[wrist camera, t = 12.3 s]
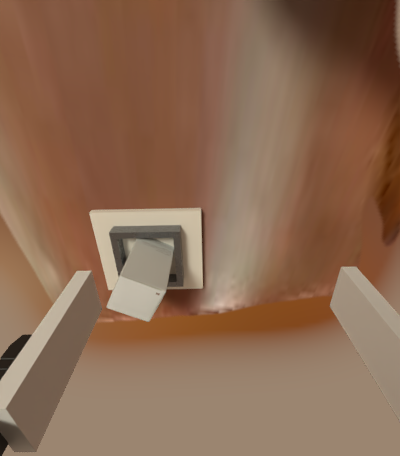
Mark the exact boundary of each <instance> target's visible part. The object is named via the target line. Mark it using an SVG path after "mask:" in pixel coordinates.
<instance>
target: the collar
mask: <svg viewBox="0 0 400 456" xmlns="http://www.w3.org/2000/svg"><path fill="white" fill-rule="evenodd" d="M109 236H110V240H111V245H112V249H113V254H114V258H115V263H116V268H117V272H118V277H119V275H120V273H121V271H122V269H123V267H124V265H125V262H126V256H125V251H124V245H123V240H122V239H128V238H173V241H174V253H175V265H176V274H169V280H168V285H167V287H183V286H184V268H183V253H182V238H181V225H156V226H113V227H112V229H111V230H110V232H109Z"/></svg>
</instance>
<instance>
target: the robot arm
mask: <svg viewBox="0 0 400 456" xmlns="http://www.w3.org/2000/svg"><path fill="white" fill-rule="evenodd" d="M330 307H331V309H332V311H333V312H334V314H335V316H336V317H337V319H338V320H339V322H340V324H341V325H342V327H343V329H344V330H345V332H346V334H347V335H348V337H349V339H350V340H351V342H352V344H353V345H354V347H355V349H356V350H357V352H358V354H359V355H360V357H361V359H362V360H363V362H364V364H365V365H366V367H367V368H368V370H369V372H370V374H371V375H372V377H373V378H374V380H375V382H376V383H377V385H378V387H379V388H380V390H381V392H382V393H383V395H384V396H385V398H386V400H387V402H388V403H389V405H390V407H391V408H392V410H393V412H394V413H395V415H396V416H397V418H398V420H399V422H400V316H399V314H398V313H397V312H396V311H395V310H394V309H393V308H392V307H391V305H390V304H389V303H388V302H387V301H386V300H385V299H384V298H383V296H382V295H381V294H380V293H379V292H378V291H377V290H376V289H375V287H373V285H372V284H371V283H370V282H369V281H368V280H367V279H366V277H365V276H364V275H363V274H362V273H361V272H360V271H359V270H358V268H357V267H341V269H340V273H339V276H338V279H337V283H336V286H335V290H334V293H333V296H332V300H331V303H330ZM101 310H102V307H101V303H100V300H99V296H98V292H97V289H96V285H95V282H94V278H93V275H92V271H77V272H76V273H75V275H74V276H73V278H72V279H71V280H70V282H69V283H68V285H67V286H66V288H65V289H64V290H63V292H62V293H61V295H60V296H59V298H58V299H57V300H56V302H55V303H54V305H53V306H52V308H51V309H50V311H49V312H48V313H47V315H46V316H45V318H44V319H43V320H42V322H41V323H40V325H39V326H38V328H37V329H36V330H35V332H34V333H33V335H22V336H21V337H20V338H18V339H17V340H16V341H15V342H14V343H12V344H11V345H10V346H9V347H8V349H7V350H6V351H5V353H4V354H3V356H2V357H1V360H0V456H2V454H3V452H4V451H5V448H6V447H7V445H9V446H10V447H11V448H12V450H13V451H14V452H36V451H37V449H38V446H39V444H40V442H41V440H42V438H43V436H44V434H45V431H46V429H47V427H48V425H49V423H50V420H51V418H52V416H53V414H54V412H55V410H56V408H57V405H58V403H59V401H60V399H61V397H62V395H63V392H64V390H65V388H66V386H67V384H68V382H69V379H70V377H71V375H72V373H73V371H74V368H75V366H76V364H77V362H78V360H79V357H80V355H81V353H82V351H83V349H84V347H85V345H86V343H87V340H88V338H89V336H90V334H91V332H92V330H93V327H94V325H95V323H96V321H97V319H98V317H99V315H100V312H101Z"/></svg>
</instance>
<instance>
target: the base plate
mask: <svg viewBox="0 0 400 456" xmlns="http://www.w3.org/2000/svg"><path fill="white" fill-rule="evenodd" d="M89 214H90V218H91V222H92V226H93V230H94V234H95V238H96V242H97V246H98V250H99V254H100V258H101V262H102V266H103V270H104V273H105V277H106V281H107V285H108V289H109V290H113V289H114V287H115V284H116V282H117V280H118V278H119V277H118V272H117V268H116V263H115V258H114V254H113V249H112V245H111V240H110V236H109V232H110V230H111V229H112V227H113V226H156V225H181V238H182V253H183V268H184V286H183V287H167V289H203V270H202V226H201V208H173V209H121V210H91V211H90V213H89ZM136 239H137V238H128V239H122V240H123V245H124V251H125V256H126V260H127V258H128V256H129V254H130V252H131V250H132V248H133V245H134V243H135V241H136ZM154 239H156V240H159V241H161V242H163V243H166V244H168V245H170V246H173V247H174V241H173V238H154ZM170 274H176V265H175V253H173V258H172V264H171V269H170Z"/></svg>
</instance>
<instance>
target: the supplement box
mask: <svg viewBox="0 0 400 456" xmlns="http://www.w3.org/2000/svg"><path fill="white" fill-rule="evenodd" d="M173 253H174V247H173V246H170V245H168V244H166V243H163V242H161V241H159V240H156V239H154V238H137V239H136V241H135V243H134V245H133V248H132V250H131V252H130V254H129V256H128V258H127V260H126V262H125V265H124V267H123V269H122V271H121V273H120V275H119V278H118V280H117V282H116V284H115V287H114V289H113V291H112V294H111V296H110V299H109V302H108V304H107V308H109V309H112V310H114V311H117V312H120V313H123V314H126V315H129V316H133V317H136V318H139V319H141V320H144V321H147V322H149V321H150V320H151V318H152V316H153V314H154V313H155V311H156V309H157V307H158V306H159V304H160V302H161V300H162V298H163V297H164V295H165V293H166V290H167V285H168V280H169V274H170V269H171V264H172V258H173Z"/></svg>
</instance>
